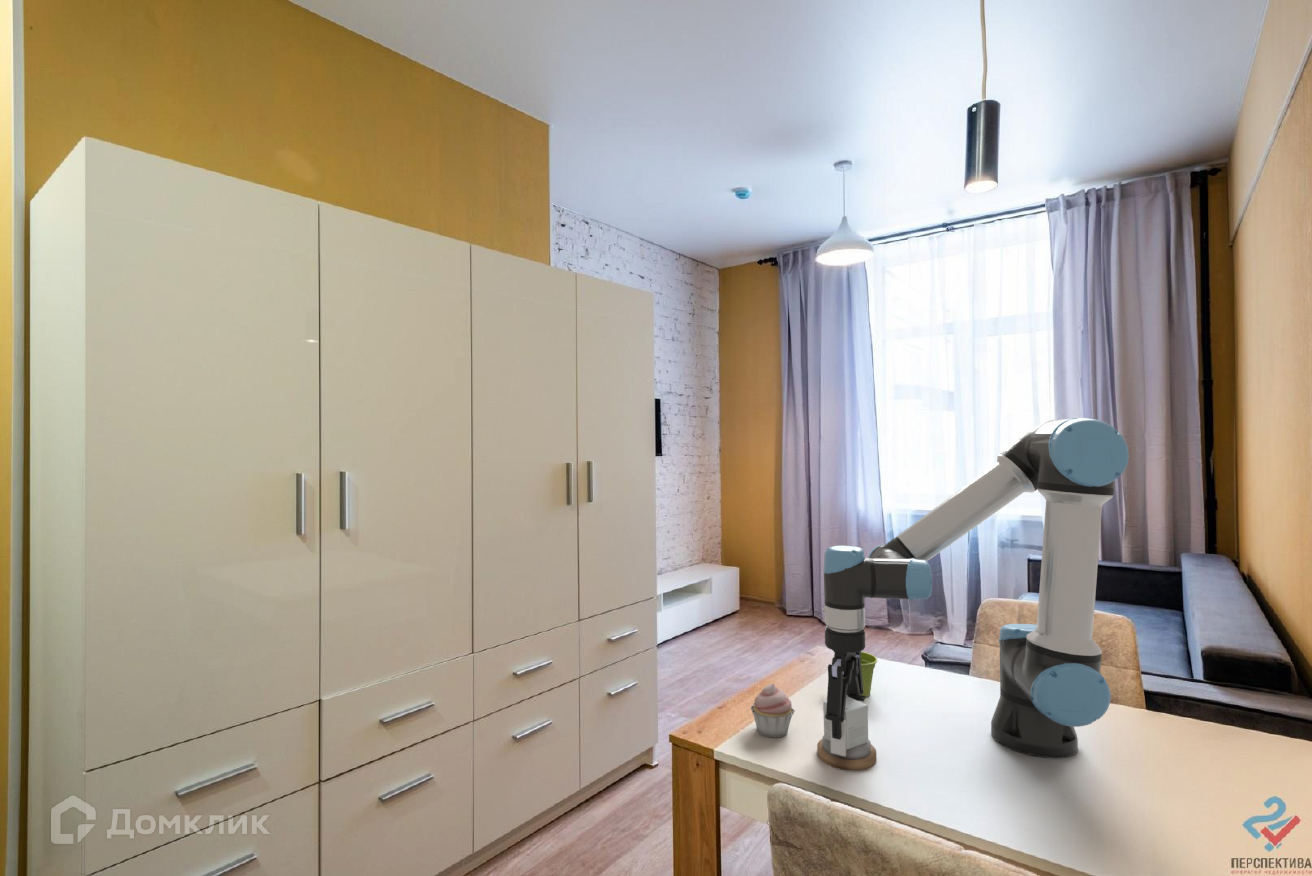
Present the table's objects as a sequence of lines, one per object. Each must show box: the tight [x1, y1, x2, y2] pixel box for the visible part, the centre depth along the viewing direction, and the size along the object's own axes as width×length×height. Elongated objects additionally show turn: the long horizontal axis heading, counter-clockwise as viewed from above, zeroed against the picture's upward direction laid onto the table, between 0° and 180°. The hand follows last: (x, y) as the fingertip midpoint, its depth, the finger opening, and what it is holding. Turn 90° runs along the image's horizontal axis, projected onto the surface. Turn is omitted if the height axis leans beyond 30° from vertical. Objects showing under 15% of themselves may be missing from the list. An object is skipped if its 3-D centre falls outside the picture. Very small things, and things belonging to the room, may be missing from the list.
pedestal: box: [816, 734, 877, 772], centre depth 126 cm, size 11×11×3 cm
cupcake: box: [750, 683, 796, 738], centre depth 137 cm, size 9×9×10 cm
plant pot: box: [843, 651, 878, 698], centre depth 157 cm, size 9×9×9 cm
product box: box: [822, 696, 869, 750], centre depth 126 cm, size 6×6×7 cm
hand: (846, 743), depth 126 cm, fingers closed on pedestal, 9 cm apart
